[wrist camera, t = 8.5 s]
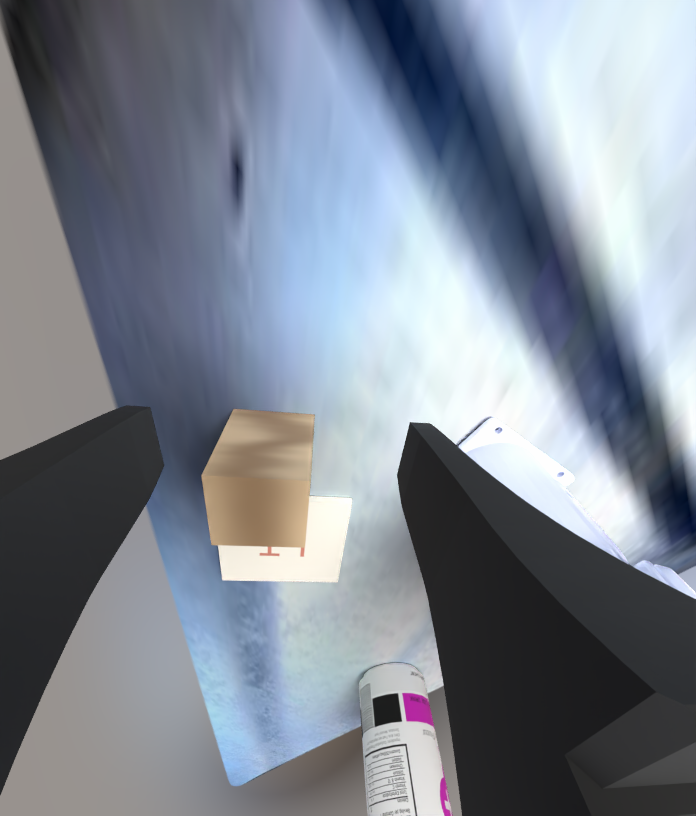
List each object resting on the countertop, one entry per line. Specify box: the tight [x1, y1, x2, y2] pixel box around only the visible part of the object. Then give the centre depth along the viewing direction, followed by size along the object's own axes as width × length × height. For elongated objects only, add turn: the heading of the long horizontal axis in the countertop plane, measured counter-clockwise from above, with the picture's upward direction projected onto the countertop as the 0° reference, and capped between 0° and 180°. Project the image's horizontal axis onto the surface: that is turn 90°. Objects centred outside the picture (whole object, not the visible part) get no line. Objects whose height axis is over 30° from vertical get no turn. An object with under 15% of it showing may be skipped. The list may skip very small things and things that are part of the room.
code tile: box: [218, 496, 352, 582], centre depth 26 cm, size 10×10×1 cm
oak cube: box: [201, 409, 315, 548], centre depth 19 cm, size 5×5×6 cm
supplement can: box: [359, 663, 453, 816], centre depth 35 cm, size 8×8×15 cm
